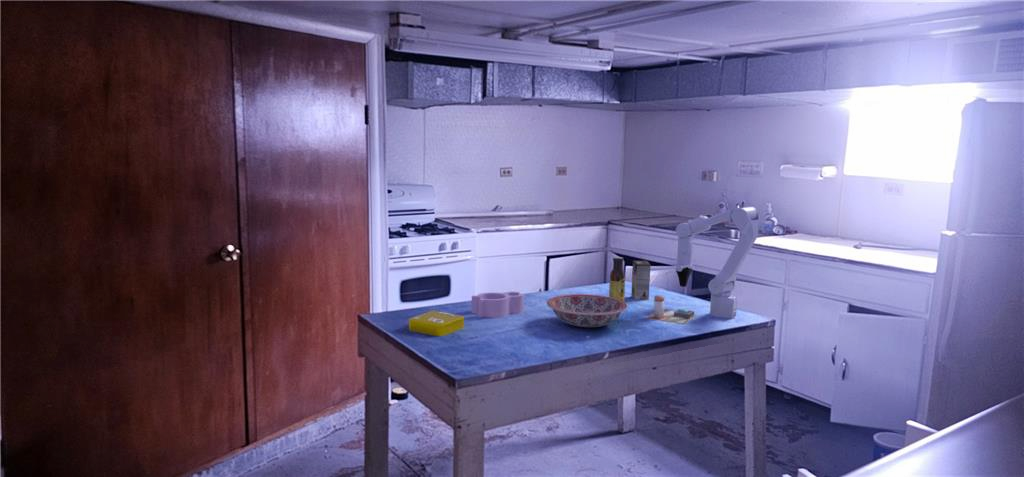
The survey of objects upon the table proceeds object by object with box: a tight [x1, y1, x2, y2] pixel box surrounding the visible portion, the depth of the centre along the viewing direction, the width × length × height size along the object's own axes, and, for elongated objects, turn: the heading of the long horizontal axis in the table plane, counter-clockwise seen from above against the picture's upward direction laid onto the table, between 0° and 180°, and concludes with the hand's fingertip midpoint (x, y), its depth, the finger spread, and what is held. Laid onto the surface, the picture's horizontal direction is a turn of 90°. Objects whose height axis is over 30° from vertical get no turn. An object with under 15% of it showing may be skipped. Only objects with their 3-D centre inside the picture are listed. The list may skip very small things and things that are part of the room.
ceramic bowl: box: [546, 293, 628, 328], centre depth 240 cm, size 29×29×8 cm
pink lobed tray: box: [471, 291, 525, 319], centre depth 255 cm, size 20×12×7 cm, turn 118°
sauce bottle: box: [608, 256, 626, 302], centre depth 268 cm, size 6×6×20 cm
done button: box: [679, 308, 689, 314], centre depth 251 cm, size 3×3×2 cm
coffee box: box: [630, 260, 652, 301], centre depth 280 cm, size 9×6×16 cm
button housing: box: [674, 308, 695, 319], centre depth 251 cm, size 6×6×2 cm
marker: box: [653, 294, 665, 318], centre depth 248 cm, size 4×4×8 cm
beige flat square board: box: [645, 309, 698, 326], centre depth 250 cm, size 15×16×1 cm
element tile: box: [408, 310, 465, 337], centre depth 233 cm, size 15×15×5 cm
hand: (683, 286), depth 264 cm, fingers closed
